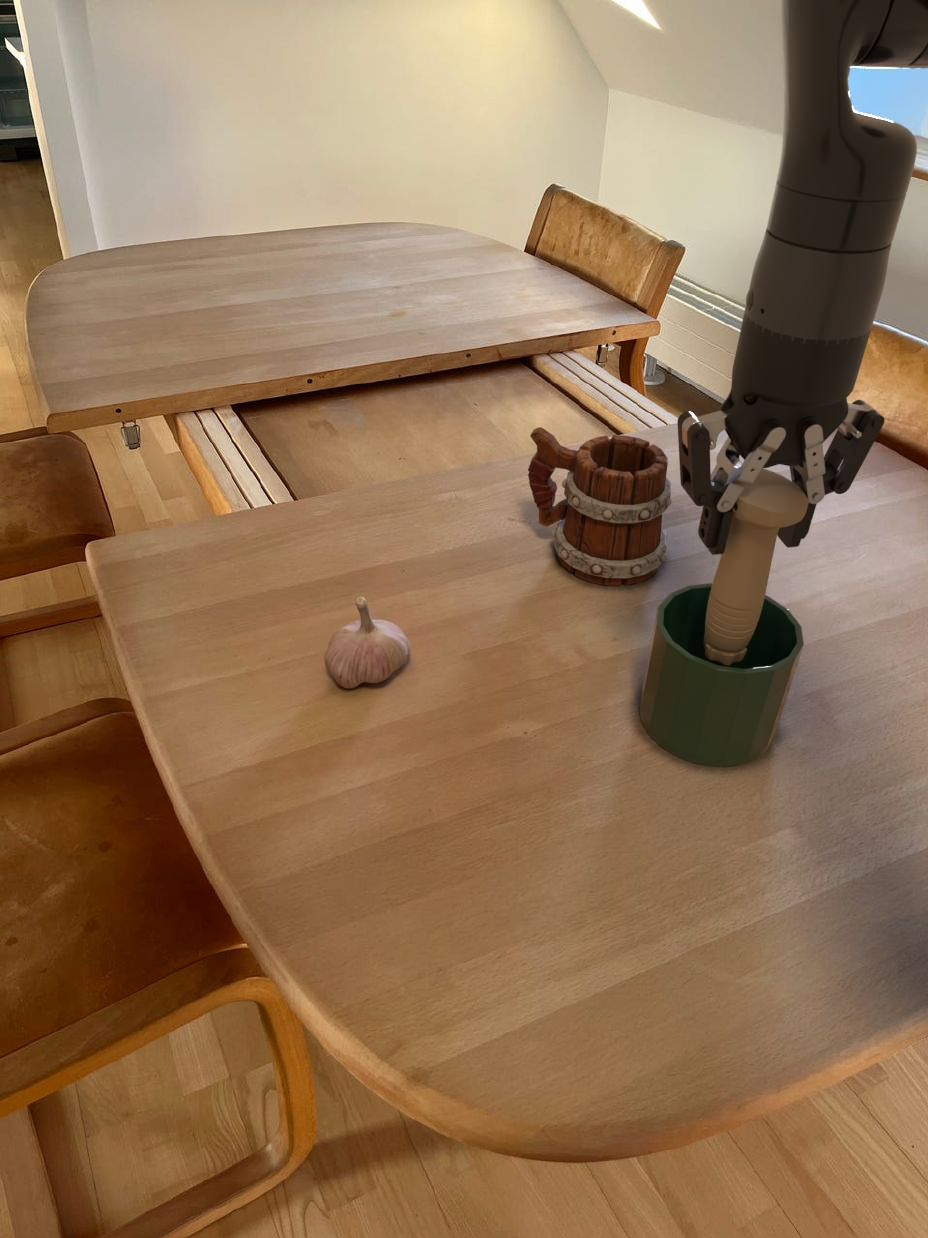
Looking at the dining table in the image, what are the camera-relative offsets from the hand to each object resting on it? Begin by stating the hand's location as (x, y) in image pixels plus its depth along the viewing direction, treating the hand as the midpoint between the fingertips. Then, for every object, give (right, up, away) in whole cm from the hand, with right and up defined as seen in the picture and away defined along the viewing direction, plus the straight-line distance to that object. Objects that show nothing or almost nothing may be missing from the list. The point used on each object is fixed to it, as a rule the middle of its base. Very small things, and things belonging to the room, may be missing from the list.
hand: (750, 543), depth 67 cm
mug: (-7, +1, +30) cm, 31 cm away
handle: (0, -8, +7) cm, 11 cm away
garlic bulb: (-29, -10, +15) cm, 34 cm away
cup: (0, -14, +11) cm, 18 cm away
